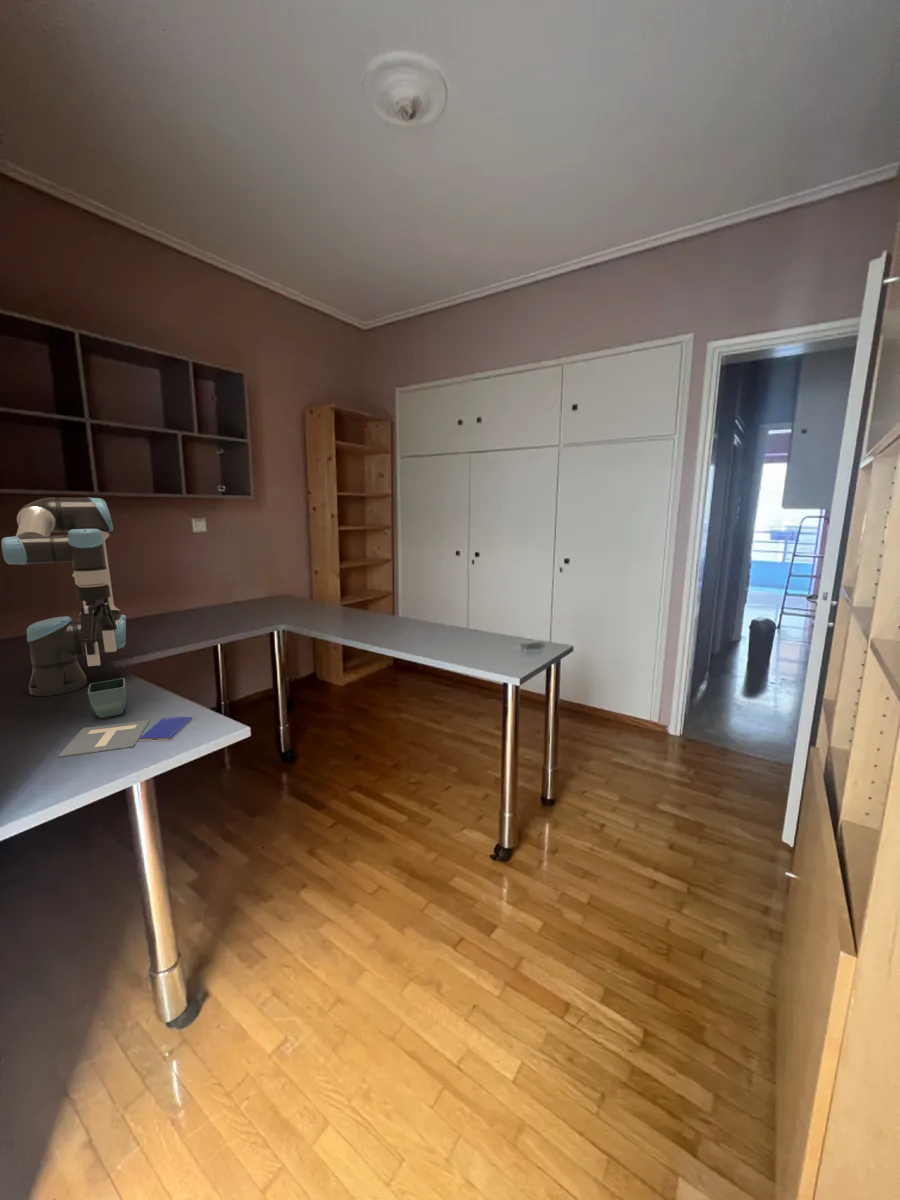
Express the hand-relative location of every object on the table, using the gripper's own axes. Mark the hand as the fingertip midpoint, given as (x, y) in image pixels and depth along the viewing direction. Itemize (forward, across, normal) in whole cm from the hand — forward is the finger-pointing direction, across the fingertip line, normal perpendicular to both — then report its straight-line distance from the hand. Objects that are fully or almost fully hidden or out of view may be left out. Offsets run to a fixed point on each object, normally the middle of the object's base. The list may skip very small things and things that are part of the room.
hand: (103, 658), depth 139 cm
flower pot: (+17, 0, 0) cm, 17 cm away
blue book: (+18, +17, +18) cm, 30 cm away
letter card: (+17, +17, +4) cm, 24 cm away
